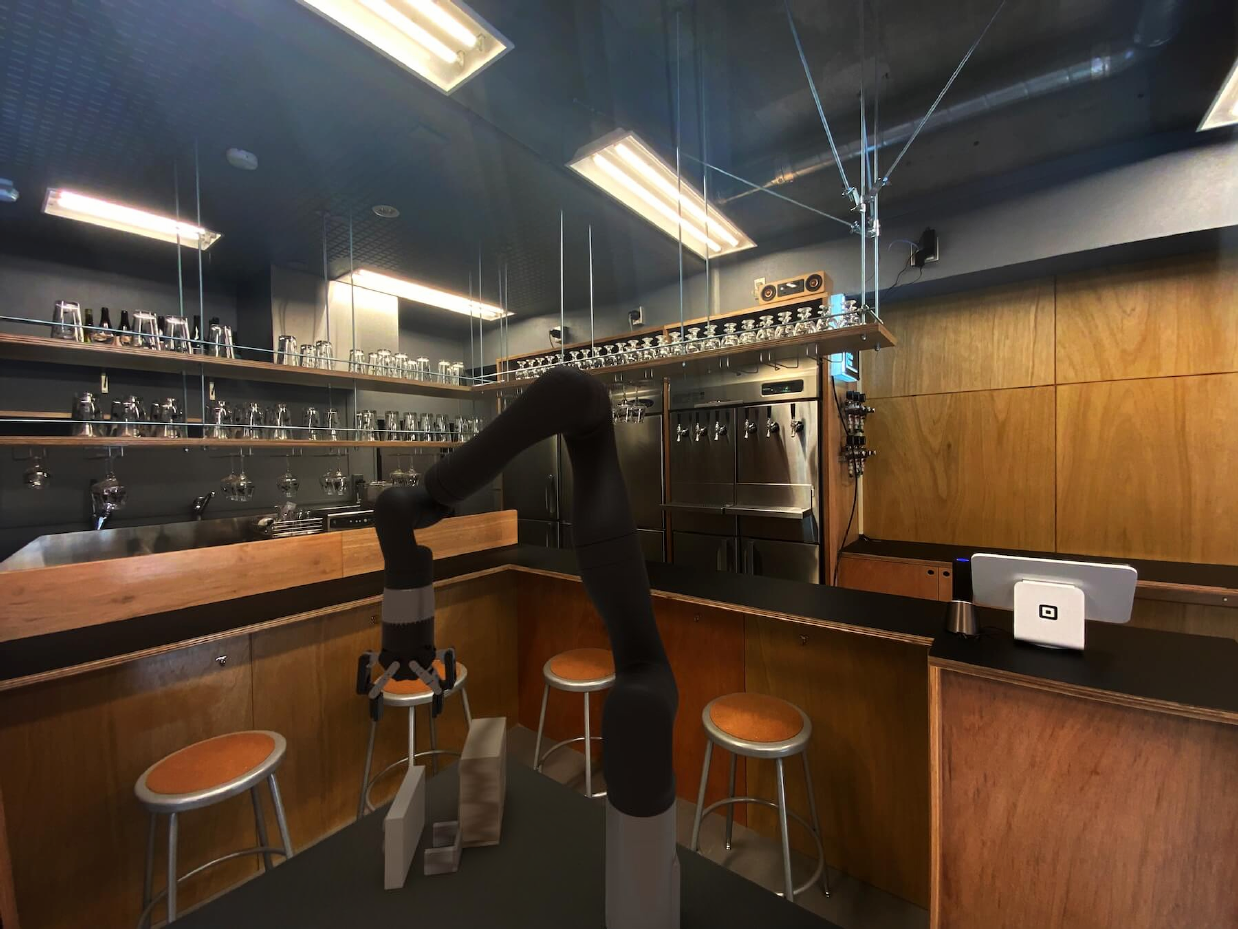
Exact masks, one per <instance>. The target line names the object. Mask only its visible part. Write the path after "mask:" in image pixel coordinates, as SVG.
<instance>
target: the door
mask: <svg viewBox="0 0 1238 929" xmlns="http://www.w3.org/2000/svg"><path fill="white" fill-rule="evenodd" d="M406 772H407V773H406V775H405V776H404V778H403V781H402V783H401V785H400V788H399V789H398V791H397V794H396V796H395V798H394V800H393V802H392V804H391V806H390V809H389V811H388V813H387V814H386V815H385V816H384V817H383V820H382V821H383V822H382V825H381V826H382V828H381V830H382V832H383V833H384V838H383V842H382V846H381V847H382V848H381V853H382V854H384V890H391V889H394V890H395V889H401V888H403V886H404V885H405V881H406V879H407V876H408V873H409V870H410V867H411V864H412V861H413V858H414V855H415V852H416V849H417V846H418V844H419V842H420V840H421V835H422V833H423V831H424V830H423V829H424V827H425V815H426V814H425V812H426V811H425V806H426V805H425V802H426V801H425V800H426V798H425V797H426V795H425V793H426V785H425V784H426V765H423V764H422V765H412V766H411V765H410V766H409V767H408V770H407V771H406Z"/></svg>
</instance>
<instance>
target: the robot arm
mask: <svg viewBox="0 0 1238 929" xmlns="http://www.w3.org/2000/svg"><path fill="white" fill-rule="evenodd" d="M610 398H611V396H610V394H609V391H608V390H607V388H606V386H605V385H604V383H603V382H602V381H601V380H600V379H598V378H597V377H596V376H595V375H593V374H591V373H589V372H587V371H585V370H582V369H581V368H579V367H575V366H572V365H565V364H561V365H556V366H553V367H551V368H549V369H548V370H546V371H544V372H543V373H542V374H540V375H539V376H538V377H537V378H536V379H535V380H533V382H532V383H531V384H530V385H528V386H527V387H526V389H525V390H524V391H523V392H522V393H521V394H519V395H518V397H517V398H516V399H515V400H514V401H513V402H511V404H510V405H508V406H507V407H506V408H505V409H504V410H502V412H501V413H499V415H498V416H496V417H495V418H494V419H493V420H492V421H490V422H489V423H488V424H487V425H486V426H485V427H484V428H483V429H481V430H480V431H479V432H478V433H477V434H475V435H473V436H472V437H471V438H469V439H468V440H467V441H465V442H464V443H463V444H461V445H459V446H458V447H457V448H455V449H453V450H452V451H451V452H449V453H448V454H446V455H444V457H442V458H441V459H439V460H438V461H436V462H435V463H434V464H432V465H431V466H430V467H429V468H428V469H427V470H426V472H425V474H424V477H423V483H420V484H418V485H402V486H400V485H399V486H390V487H386V488H385V489H384V490H382V491H381V492H380V493H379V494H378V496H377V498H375V501H374V504H373V509H372V520H373V524H374V525H373V526H374V528H375V533H376V536H377V540H378V544H379V547H380V551H381V554H382V556H383V561H384V563H383V570H384V572H383V576H384V580H383V581H384V582H383V594H382V599H381V651H380V652H377V651H376V652H373V650H372V649H366V650H365V651H364V652H363V653H362V654H361V655H360V656H359V657H358V660H357V661H358V662H357V673H356V674H357V675H356V676H357V677H356V687H355V693H356V694H357V695H358V696H362V695H365V696H368V698H369V716H370V719H373V723H375V722H376V723H378V722H380V721H381V719H382V718H383V716H384V691H382V690H383V689H384V688H385V686H386V685H387V684H388V682H389V681H390V680H393V681H395V683H396V682H397V683H398V682H403V681H411V682H412V681H413V682H414V681H418V679H419V680H421V682H422V683H423V684H424V685H425V686H428V687H429V688H430V690H431V691H432V693H433V694H432V695H431V697H432V698H431V700H432V702H431V717H432V719H438V717H439V716H440V715H441V714H442V712H443V709H444V708H445V691H451V690H453V689H454V687H455V684H456V682H457V681H458V680H457V679H458V674H457V660H456V659H457V657H456V655H457V654H456V647H455V646H454V645H450V646H448V647H447V648H443V649H437V648H436V646H435V611H436V603H435V601H436V600H435V588H434V555H433V551H432V549H431V548H430V546H426V545H424V544H418V542H417V539H416V536H415V531H417V530H422V529H427V528H430V527H432V526H434V525H436V524H438V523H440V522H441V521H442V520H444V519H445V518H446V517H447V516H448V515H449V514H451V512H453V511H454V510H455V508H456V507H458V505H459V504H460V503H462V502H463V501H465V500H467V499H468V498H470V497H471V496H473V495H475V494H476V493H478V492H479V491H481V490H483V489H484V488H485V487H486V486H488V485H489V484H491V483H492V482H493V481H494V480H496V478H498V477H499V476H500V475H501V474H502V473H503V471H505V469H506V468H507V467H508V466H509V465H510V463H511V462H512V461H514V459H516V458H517V457H518V456H519V455H520V454H521V453H523V452H525V451H526V450H527V449H529V448H531V447H532V446H535V445H536V444H538V443H540V442H542V441H544V440H547V439H550V438H552V437H555V436H556V435H559V434H560V435H562V436H563V441H564V443H565V446H566V447H565V448H566V450H567V454H568V458H569V462H570V468H571V471H572V473H571V474H572V495H571V508H570V523H569V524H570V535H571V536H570V538H571V543H572V546H573V547H572V549H573V553H574V556H575V562H576V565H577V571H578V574H579V577H580V582H581V583H582V586H583V588H584V591H586V594H587V595H588V597H589V599H590V601H591V603H592V605H593V606H594V608H595V610H596V612H597V613H598V614H599V616H600V618H601V620H602V622H603V624H604V626H605V628H606V632H607V635H608V639H609V643H610V648H611V653H612V660H613V667H614V678H615V679H614V682H613V684H612V685H611V687H610V689H609V691H608V692H607V694H606V696H605V698H604V701H603V704H602V709H601V721H600V725H601V726H600V729H601V731H600V737H601V771H602V776H603V780H604V782H605V786H606V787H605V788H606V790H605V792H606V793H605V795H606V798H605V800H606V801H605V802H606V803H605V809H606V810H605V814H606V816H605V818H606V819H605V824H606V825H605V832H606V833H605V840H606V841H605V904H604V905H605V907H604V908H605V910H604V911H605V912H604V913H605V928H606V927H607V929H681V926H680V925H681V863H680V860H679V857H678V854H677V851H676V842H677V841H676V839H677V838H676V835H677V834H676V832H677V829H676V828H677V827H676V825H677V822H676V820H677V819H676V818H677V817H676V815H677V814H676V812H677V799H676V798H677V797H676V796H677V778H676V772H675V770H674V767H673V766H674V760H673V758H674V757H673V756H674V752H673V751H674V748H673V747H674V745H673V744H674V743H673V742H674V737H673V736H674V724H675V722H676V717H677V712H678V709H679V704H680V703H679V701H680V700H679V698H680V697H679V696H680V694H679V688H678V684H677V681H676V678H675V674H674V672H673V669H672V666H671V663H670V660H669V658H668V654H667V652H666V648H665V645H664V643H663V640H662V637H661V634H660V630H659V626H658V623H657V619H656V615H655V609H654V603H653V596H652V592H651V587H650V586H651V585H650V581H649V576H648V571H647V567H646V566H647V565H646V561H645V556H644V552H643V549H642V548H643V547H642V544H641V543H642V542H641V540H640V534H639V531H638V527H637V523H636V520H635V516H634V512H633V508H632V504H631V501H630V496H629V493H628V489H627V485H626V481H625V478H624V475H623V474H624V473H623V472H622V468H621V466H620V459H619V454H618V449H617V447H618V446H617V440H616V433H615V424H614V416H613V409H612V403H611V399H610ZM436 659H438V660H439V661H440V664H442V665H444V675H445V676H444V677H445V679H443V678H442V676H441V675H440V674H439V672H438V670H437V668H436V667H435V666H434V665H433V663H434V661H435V660H436ZM377 662H378V663H379V665H380V666H381V667H382V668H383V670H384V671H385V672H384V673H383V674H382V676H381V677H380V678H379V680H378V681H377V682H376V683H373V682H371V680H372V668H373V667H374V666H375V665H376V663H377Z"/></svg>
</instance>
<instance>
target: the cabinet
mask: <svg viewBox="0 0 1238 929" xmlns="http://www.w3.org/2000/svg"><path fill="white" fill-rule="evenodd" d="M468 729H469V730H468V732H467V737H466V740H465V743H464V746H463V750H462V753H461V756H460V761H459V762H458V766H457V767H458V768H457V774H458V776H457V820H453V821H443V822H434V823H433V826H432V828H433V829H432V847H433V848H425V851H424V861H423V863H424V867H423V868H424V870H423V871H424V872H423V873H424V876H430V875H431V876H432V875H439V874H448V873H449V874H450V873H455V872H456V873H457V872H458V868H459V865H460V864H459V863H460V859H461V855H462V850H463V849H464V848H465V849H466V848H475V847H484V846H486V847H487V846H493V845H499V843H500V835H501V830H502V829H501V827H502V821H503V820H502V819H503V813H504V808H503V807H505V800H506V799H505V798H506V793H507V792H506V790H507V789H506V788H507V786H506V784H507V783H506V782H507V778H506V776H507V774H506V772H507V770H506V769H507V768H506V767H507V760H506V759H507V717H506V716H501V717H485V718H472V720H471V723H470V726H469V728H468Z"/></svg>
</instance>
